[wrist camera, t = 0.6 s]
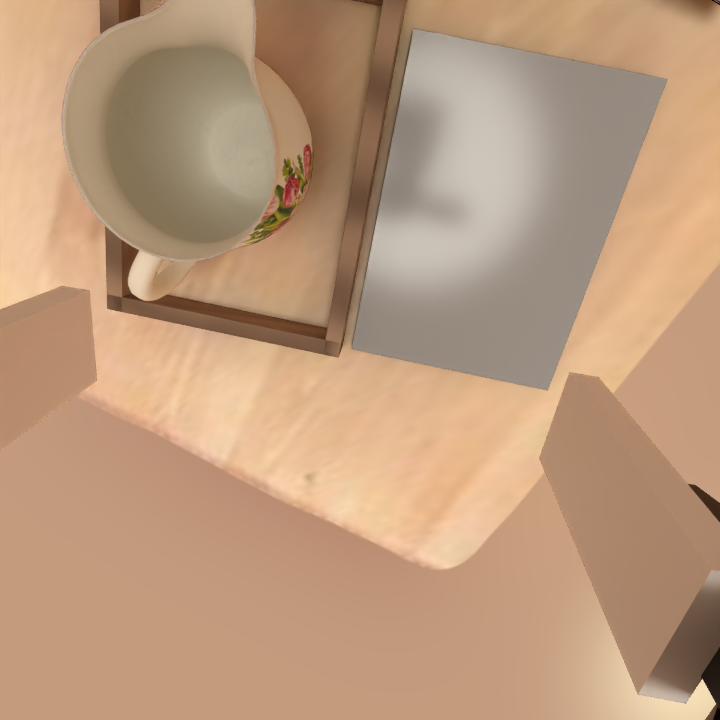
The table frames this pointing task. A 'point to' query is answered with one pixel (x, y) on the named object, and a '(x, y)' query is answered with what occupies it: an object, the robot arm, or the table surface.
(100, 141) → the pitcher
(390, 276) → the slate board
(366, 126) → the frame
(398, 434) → the table surface
